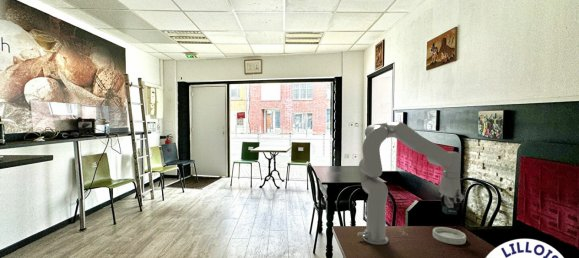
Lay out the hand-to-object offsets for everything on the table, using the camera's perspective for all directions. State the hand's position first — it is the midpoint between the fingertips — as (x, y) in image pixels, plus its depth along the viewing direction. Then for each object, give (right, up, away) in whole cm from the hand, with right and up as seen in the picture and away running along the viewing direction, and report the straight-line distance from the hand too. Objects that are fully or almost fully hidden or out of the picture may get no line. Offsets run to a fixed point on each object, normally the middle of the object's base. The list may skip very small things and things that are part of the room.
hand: (449, 207), depth 146 cm
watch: (0, -3, 0) cm, 3 cm away
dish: (0, -17, +1) cm, 17 cm away
